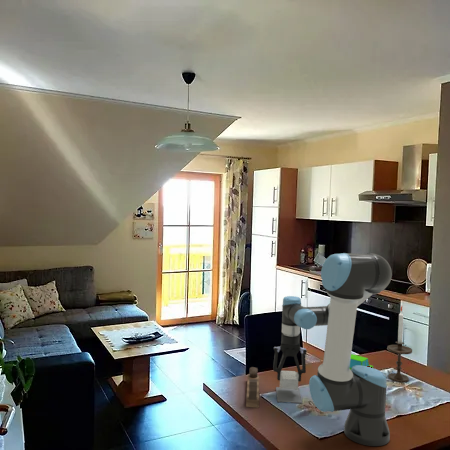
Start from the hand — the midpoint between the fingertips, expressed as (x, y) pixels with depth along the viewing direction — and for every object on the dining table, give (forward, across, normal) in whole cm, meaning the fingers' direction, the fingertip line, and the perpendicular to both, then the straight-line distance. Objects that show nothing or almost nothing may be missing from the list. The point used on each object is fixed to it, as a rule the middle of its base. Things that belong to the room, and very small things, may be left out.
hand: (288, 388), depth 183 cm
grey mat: (+3, 0, 0) cm, 3 cm away
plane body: (+3, +15, 0) cm, 15 cm away
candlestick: (+3, -53, -26) cm, 59 cm away
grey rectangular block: (-2, 0, 0) cm, 2 cm away
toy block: (+3, -35, -26) cm, 44 cm away
